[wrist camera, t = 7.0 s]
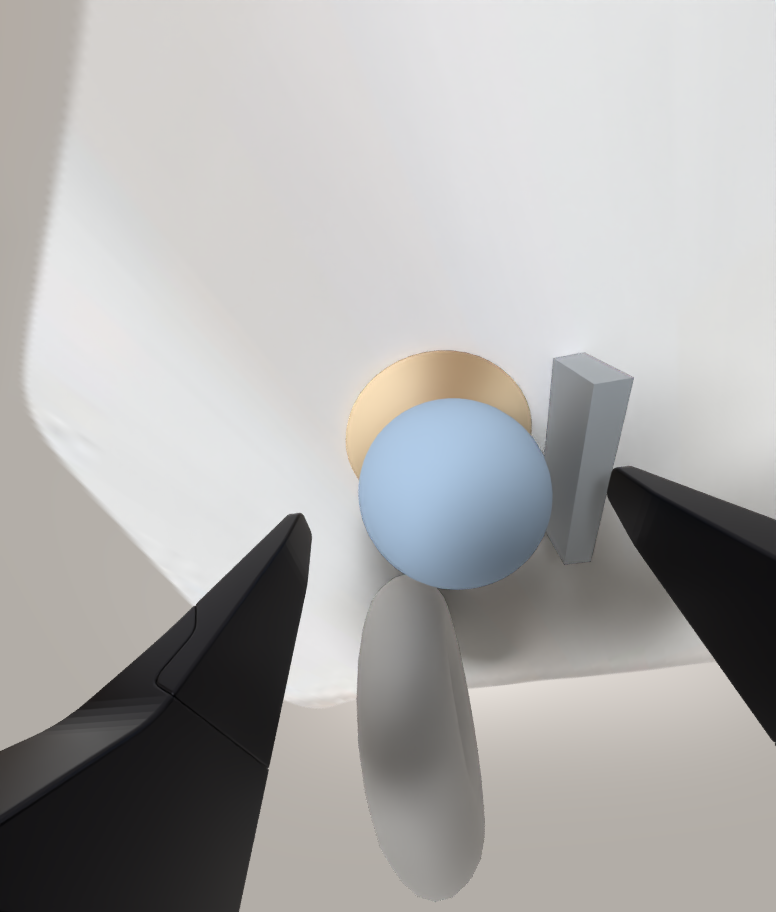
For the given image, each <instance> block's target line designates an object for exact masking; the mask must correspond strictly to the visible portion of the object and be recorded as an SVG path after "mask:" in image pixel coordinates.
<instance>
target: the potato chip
mask: <svg viewBox="0 0 776 912" xmlns="http://www.w3.org/2000/svg"><path fill="white" fill-rule="evenodd" d="M446 398H460V399H468V400H474V401H477V402H481V403H485V404H488V405H490V406H493V407H495V408H497V409H499V410H501V411H502V412H504V413H506V414H507V415H509V416H510V417H512V418H513V419H515V420H516V421H517V422H518V423H519V424H521V425H522V426H523V427H524V428H525V429H526V430H527V432H528V433H529V434H530V435H531V416H530V410H529V407H528V404H527V401H526V399H525V397H524V395H523V393H522V391H521V390H520V388H519V387H518V386H517V384H516V383H515V382H514V380H513V379H512V378H511V377H510V376H509V375H508V374H507V373H505V372H504V371H503V370H502V369H501V368H499V367H498V366H496V365H495V364H493V363H492V362H490V361H488V360H486V359H484V358H482V357H479V356H476V355H473V354H469V353H466V352H459V351H444V350H438V351H430V352H424V353H420V354H416V355H412V356H409V357H407V358H405V359H402V360H400V361H398V362H396V363H394V364H392V365H390V366H389V367H387V368H386V369H384V370H383V371H382V372H380V373H379V374H378V375H376V376H375V377H374V378H373V379H372V380H371V381H370V382H369V383H368V384H367V385H366V387H365V388H364V389H363V391H362V392H361V393H360V395H359V396H358V398H357V400H356V402H355V403H354V406H353V408H352V411H351V413H350V416H349V420H348V425H347V429H346V450H347V454H348V459H349V462H350V464H351V467H352V469H353V471H354V473H355V474H356V476H357V478H358V479H359V478H360V473H361V469H362V465H363V462H364V459H365V456H366V454H367V452H368V450H369V448H370V446H371V444H372V443H373V441H374V440H375V438H376V437H377V435H378V434H379V433H380V432H381V431H382V429H383V428H384V427H385V426H386V425H387V424H388V423H390V422H391V421H392V420H393V419H394V418H395V417H397V416H398V415H400V414H401V413H403V412H404V411H406V410H408V409H410V408H412V407H414V406H417V405H419V404H422V403H425V402H429V401H433V400H438V399H446Z"/></svg>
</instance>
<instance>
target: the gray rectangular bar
mask: <svg viewBox="0 0 776 912" xmlns="http://www.w3.org/2000/svg"><path fill="white" fill-rule="evenodd" d="M633 380H634V377H632V376H630V375H628V374H626V373H624V372H622V371H620V370H618V369H616V368H614V367H612V366H610V365H608V364H606V363H605V362H603V361H601V360H599V359H597V358H595V357H593V356H591V355H589V354H587V353H580V354H574V355H569V356H563V357H558V358H554V359H553V370H552V381H551V392H550V403H549V414H548V425H547V436H546V447H545V461H546V464H547V466H548V469H549V472H550V477H551V483H552V492H553V497H552V510H551V516H550V520H549V523H548V526H547V529H546V533H547V535H548V537H549V539H550V540H551V542H552V544H553V546H554V548H555V549H556V551H557V553H558V555H559V556H560V558H561V560H562V562H563V564H564V565H565V564H574V563H583V562H591V558H592V554H593V550H594V546H595V541H596V537H597V533H598V529H599V524H600V520H601V516H602V512H603V507H604V503H605V499H606V495H607V488H608V484H609V480H610V475H611V472H612V469H613V465H614V460H615V456H616V452H617V448H618V443H619V439H620V435H621V431H622V426H623V422H624V418H625V414H626V409H627V405H628V401H629V397H630V392H631V388H632V384H633Z"/></svg>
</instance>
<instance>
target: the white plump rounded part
mask: <svg viewBox="0 0 776 912" xmlns="http://www.w3.org/2000/svg"><path fill="white" fill-rule="evenodd" d="M357 722H358V744H359V752H360V760H361V767H362V774H363V782H364V788H365V794H366V799H367V803H368V808H369V811H370V815H371V818H372V822H373V825H374V829H375V833H376V836H377V840H378V843H379V846H380V848H381V850H382V852H383V854H384V855H385V857H386V859H387V860H388V862H389V864H390V865H391V867H392V869H393V870H394V871H395V873H396V874H397V876H398V877H399V879H400V880H401V881H402V883H403V884H404V885H405V886H406V887H408V888H409V889H410V890H411V891H412V892H413V893H414V894H416V895H417V896H418V897H421V898H424V899H428V900H431V901H434V902H436V901H440V900H444V899H448V898H451V897H453V896H454V895H455V894H456V893H458V892H459V891H460V890H461V889H462V888H463V887H464V886H465V885H466V884H467V883H468V882H469V880H470V879H471V878H472V876H473V874H474V872H475V870H476V868H477V866H478V864H479V862H480V859H481V855H482V849H483V843H484V832H485V831H484V830H485V829H484V827H485V826H484V825H485V818H484V805H483V793H482V781H481V773H480V765H479V756H478V750H477V742H476V736H475V729H474V723H473V717H472V711H471V705H470V700H469V695H468V689H467V684H466V678H465V673H464V668H463V664H462V659H461V654H460V650H459V645H458V641H457V637H456V633H455V629H454V626H453V622H452V619H451V615H450V612H449V609H448V606H447V604H446V601H445V599H444V597H443V595H442V594H441V593H440V591H439V590H438V588H437V587H433V586H429V585H426V584H424V583H421V582H419V581H416V580H414V579H412V578H410V577H408V576H407V575H405V574H404V575H401V576H398V577H395V578H393V579H392V580H391V581H389V582H388V583H387V584H386V585H384V586H383V587H382V588H381V589H380V590H379V591H378V592H377V594H376V595H375V597H374V598H373V600H372V602H371V605H370V608H369V611H368V614H367V616H366V619H365V623H364V627H363V633H362V639H361V646H360V652H359V659H358V678H357Z"/></svg>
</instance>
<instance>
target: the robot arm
mask: <svg viewBox="0 0 776 912" xmlns="http://www.w3.org/2000/svg"><path fill="white" fill-rule="evenodd" d="M607 496H608V499H609V501H610V503H611V505H612V507H613V508H614V510H615V512H616V514H617V516H618V517H619V519H620V521H621V523H622V525H623V526H624V528H625V530H626V532H627V534H628V535H629V537H630V539H631V541H632V542H633V544H634V546H635V547H636V549H637V550H638V552H639V553H640V555H641V556H642V557H643V559H644V560H645V562H646V563H647V565H648V566H649V567H650V569H651V570H652V572H653V573H654V574H655V576H656V577H657V579H658V580H659V581H660V583H661V584H662V586H663V587H664V589H665V590H666V591H667V593H668V594H669V596H670V597H671V598H672V600H673V601H674V603H675V604H676V605H677V607H678V608H679V610H680V611H681V613H682V614H683V615H684V617H685V618H686V620H687V621H688V622H689V624H690V625H691V627H692V628H693V629H694V631H695V632H696V634H697V635H698V637H699V638H700V639H701V641H702V642H703V644H704V645H705V646H706V648H707V649H708V651H709V652H710V653H711V655H712V656H713V658H714V659H715V661H716V662H717V663H718V665H719V666H720V668H721V669H722V670H723V672H724V673H725V674H726V676H727V677H728V679H729V680H730V682H731V683H732V685H733V686H734V687H735V689H736V690H737V691H738V693H739V694H740V696H741V697H742V699H743V700H744V701H745V703H746V704H747V706H748V707H749V708H750V710H751V711H752V713H753V714H754V715H755V717H756V718H757V720H758V721H759V723H760V724H761V725H762V727H763V728H764V730H765V731H766V733H767V734H768V735H769V737H770V738H771V740H772V741H773V742H776V520H775V519H772V518H769V517H767V516H764V515H761V514H759V513H756V512H753V511H751V510H748V509H745V508H742V507H740V506H737V505H734V504H732V503H729V502H726V501H724V500H721V499H718V498H716V497H713V496H710V495H708V494H705V493H702V492H700V491H697V490H694V489H691V488H689V487H686V486H683V485H681V484H678V483H675V482H673V481H670V480H667V479H665V478H662V477H659V476H657V475H654V474H651V473H649V472H646V471H643V470H640V469H638V468H635V467H632V466H625V467H617V468H614V469H613V470H612V472H611V475H610V480H609V484H608V488H607ZM311 542H312V534H311V531H310V528H309V526H308V524H307V522H306V519H305V517H304V515H303V514H302V513H295V514H289V515H287V516H286V517H285V518H284V519H283V520H282V521H281V522H280V523H279V524H278V525H277V526H276V527H275V528H274V529H273V530H272V531H271V532H270V533H269V534H268V535H267V536H266V537H265V538H264V539H263V540H261V541H260V542H259V543H258V544H257V545H256V546H255V547H254V548H253V549H252V550H251V551H250V552H249V553H248V554H247V555H246V556H245V557H244V558H243V559H242V560H241V561H240V562H239V563H238V564H237V565H236V566H235V567H234V568H233V569H232V570H231V571H230V572H228V573H227V574H226V575H225V576H224V577H223V578H222V579H221V580H220V581H219V582H218V583H217V584H216V585H215V586H214V587H213V588H212V589H211V590H210V591H209V592H208V593H207V594H206V595H205V596H204V597H203V598H202V599H201V600H200V601H199V602H198V603H197V604H196V606H193V607H192V608H191V609H190V610H189V611H188V612H187V613H186V614H185V615H184V616H183V617H182V618H181V619H180V620H179V621H178V622H177V623H176V624H175V625H174V626H172V627H171V628H170V629H169V630H168V631H167V632H166V633H165V634H164V635H163V636H162V637H161V638H160V639H158V640H157V641H156V642H155V643H154V644H153V645H152V646H150V647H149V648H148V649H147V650H146V651H145V652H144V653H143V654H141V655H140V656H139V657H138V658H137V659H136V660H135V661H133V662H132V663H131V664H130V665H129V666H128V667H126V668H125V669H124V670H123V671H122V672H121V673H120V674H118V675H117V676H116V677H115V678H114V679H113V680H111V681H110V682H109V683H108V684H107V685H106V686H105V687H103V688H102V689H101V690H100V691H99V692H98V693H96V694H95V695H94V696H93V697H92V698H91V699H89V700H88V701H87V702H86V703H85V704H83V705H82V706H81V707H80V708H79V709H77V710H76V711H75V712H73V713H72V714H70V715H69V716H68V717H66V718H65V719H63V720H62V721H60V722H58V723H57V724H55V725H54V726H52V727H50V728H48V729H46V730H45V731H43V732H41V733H39V734H37V735H35V736H33V737H31V738H28V739H26V740H24V741H22V742H19V743H17V744H15V745H13V746H11V747H8V748H6V749H4V750H2V751H0V912H239V909H240V904H241V899H242V895H243V890H244V885H245V880H246V875H247V871H248V866H249V861H250V857H251V852H252V847H253V842H254V838H255V833H256V828H257V823H258V819H259V814H260V809H261V804H262V800H263V794H264V790H265V785H266V780H267V775H268V771H269V770H268V768H269V765H270V760H271V756H272V751H273V746H274V741H275V736H276V732H277V727H278V722H279V718H280V713H281V707H282V703H283V699H284V694H285V689H286V684H287V679H288V675H289V670H290V665H291V660H292V656H293V651H294V646H295V641H296V637H297V632H298V627H299V622H300V618H301V613H302V608H303V603H304V599H305V594H306V589H307V582H308V573H309V563H310V552H311ZM775 746H776V743H775Z"/></svg>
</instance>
